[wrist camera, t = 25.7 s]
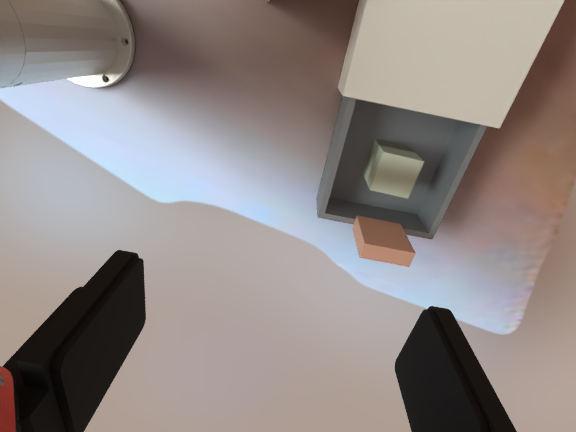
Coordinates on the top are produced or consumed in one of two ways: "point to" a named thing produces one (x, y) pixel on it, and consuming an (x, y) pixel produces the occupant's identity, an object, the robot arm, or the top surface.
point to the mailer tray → (384, 207)
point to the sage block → (392, 168)
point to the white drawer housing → (445, 54)
